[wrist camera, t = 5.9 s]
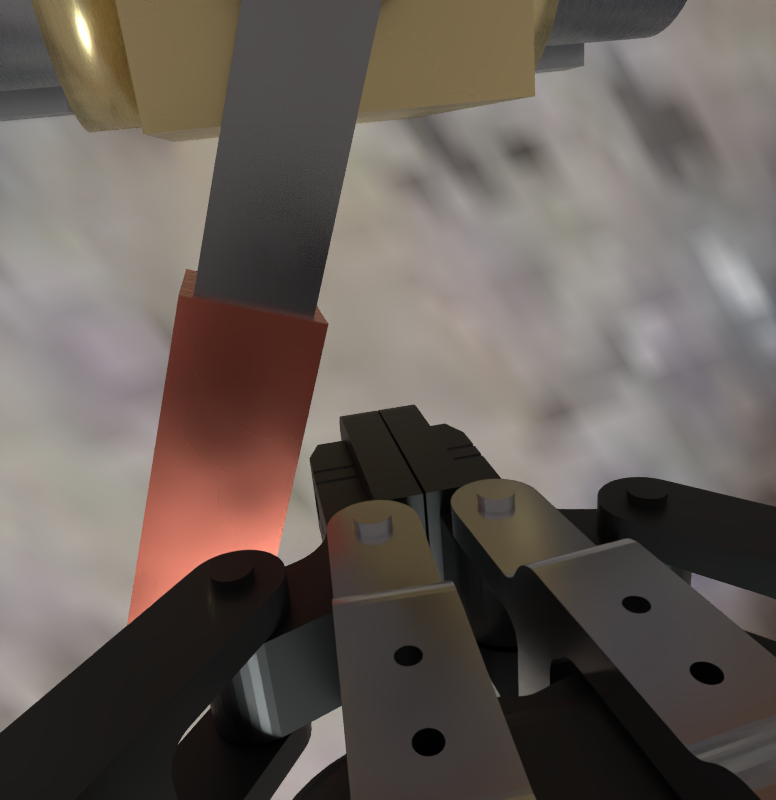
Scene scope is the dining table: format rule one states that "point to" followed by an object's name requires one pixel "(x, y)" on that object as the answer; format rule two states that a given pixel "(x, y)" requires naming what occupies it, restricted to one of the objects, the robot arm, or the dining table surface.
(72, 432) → the dining table surface
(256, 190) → the lever
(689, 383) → the dining table surface
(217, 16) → the valve pipe
